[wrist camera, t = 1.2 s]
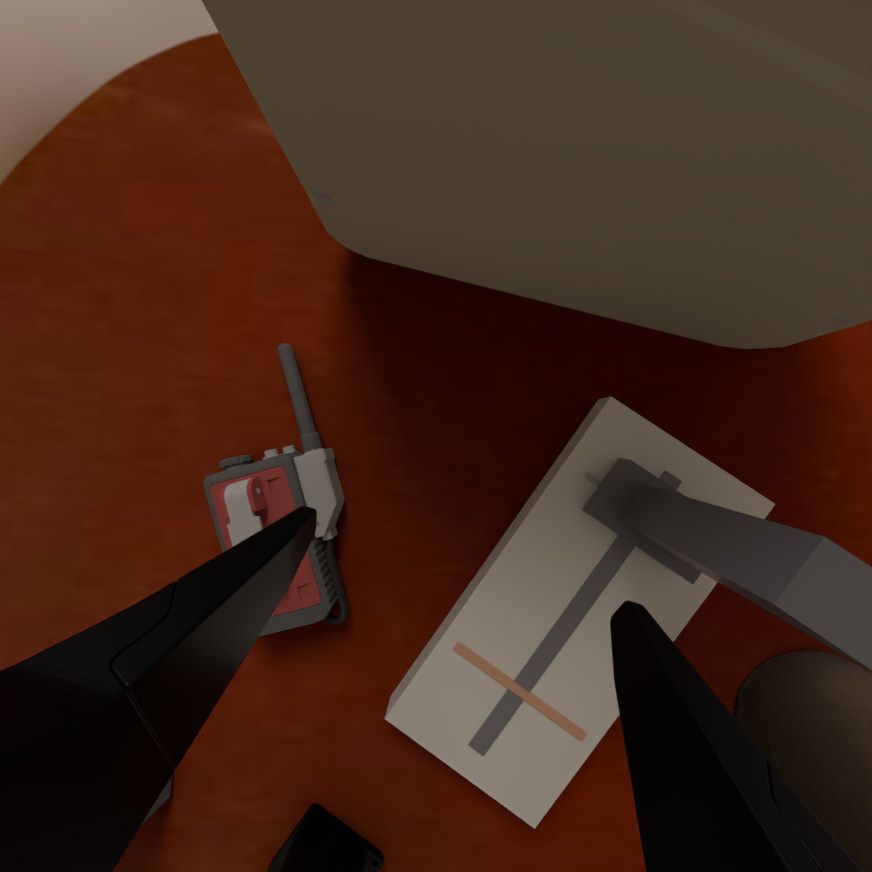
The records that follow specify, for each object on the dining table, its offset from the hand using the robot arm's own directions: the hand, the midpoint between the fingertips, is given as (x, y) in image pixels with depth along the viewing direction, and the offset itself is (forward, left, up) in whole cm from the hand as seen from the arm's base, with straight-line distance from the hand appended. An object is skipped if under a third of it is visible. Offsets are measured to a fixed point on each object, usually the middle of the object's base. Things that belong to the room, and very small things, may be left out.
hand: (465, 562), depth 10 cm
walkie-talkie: (-8, +10, -16) cm, 20 cm away
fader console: (-3, -10, -15) cm, 18 cm away
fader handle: (+5, -10, -13) cm, 17 cm away
